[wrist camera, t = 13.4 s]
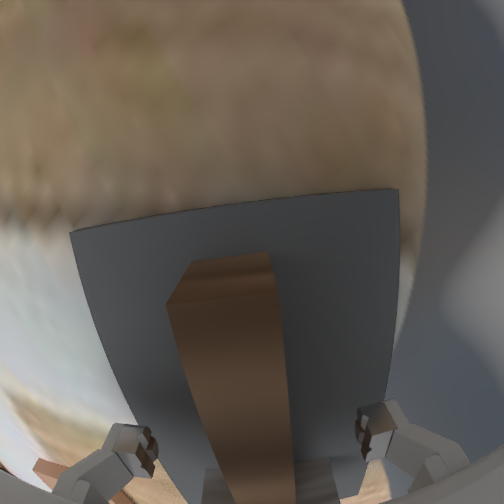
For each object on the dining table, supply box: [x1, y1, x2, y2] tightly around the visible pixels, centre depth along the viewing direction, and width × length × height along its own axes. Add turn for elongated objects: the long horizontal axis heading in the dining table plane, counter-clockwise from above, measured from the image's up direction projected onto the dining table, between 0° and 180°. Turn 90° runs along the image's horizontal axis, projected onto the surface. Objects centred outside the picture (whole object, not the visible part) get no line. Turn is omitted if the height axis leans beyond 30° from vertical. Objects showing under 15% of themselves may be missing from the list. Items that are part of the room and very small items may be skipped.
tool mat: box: [70, 188, 400, 504], centre depth 14 cm, size 24×14×1 cm, turn 7°
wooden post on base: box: [165, 252, 340, 504], centre depth 10 cm, size 15×8×8 cm, turn 7°
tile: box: [32, 458, 134, 504], centre depth 18 cm, size 2×9×11 cm
